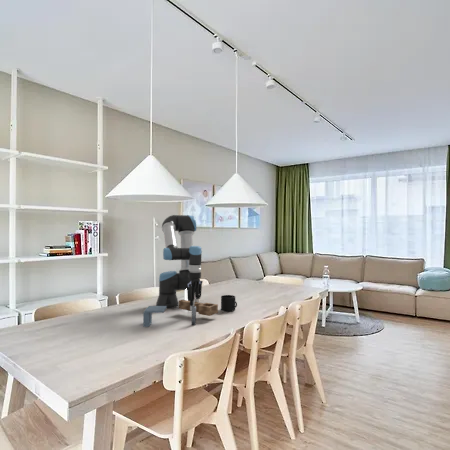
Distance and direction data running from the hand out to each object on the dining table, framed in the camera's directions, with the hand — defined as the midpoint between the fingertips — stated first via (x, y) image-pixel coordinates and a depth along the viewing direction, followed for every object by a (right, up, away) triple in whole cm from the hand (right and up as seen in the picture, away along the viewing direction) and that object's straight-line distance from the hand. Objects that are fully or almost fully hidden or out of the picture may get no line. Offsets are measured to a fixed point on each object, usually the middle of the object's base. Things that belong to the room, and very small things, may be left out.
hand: (194, 309), depth 202 cm
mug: (+22, -5, +15) cm, 27 cm away
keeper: (-20, -3, -19) cm, 27 cm away
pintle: (+1, -4, -18) cm, 18 cm away
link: (+2, -1, -1) cm, 2 cm away
